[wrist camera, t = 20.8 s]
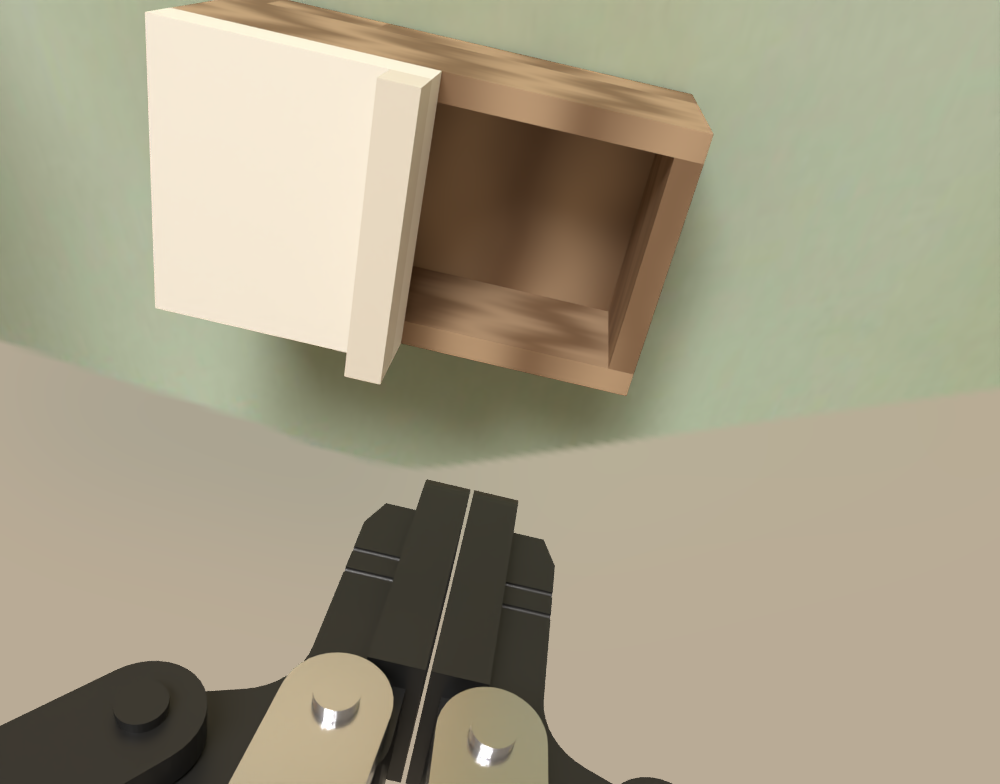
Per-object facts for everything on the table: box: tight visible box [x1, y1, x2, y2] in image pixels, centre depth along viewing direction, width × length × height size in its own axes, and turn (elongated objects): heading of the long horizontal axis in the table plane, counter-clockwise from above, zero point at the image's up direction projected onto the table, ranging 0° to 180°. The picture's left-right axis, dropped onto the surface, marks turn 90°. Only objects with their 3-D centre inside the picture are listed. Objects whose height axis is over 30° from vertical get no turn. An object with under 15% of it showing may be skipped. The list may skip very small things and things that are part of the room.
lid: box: [145, 8, 442, 385], centre depth 32 cm, size 11×12×4 cm
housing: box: [173, 0, 714, 396], centre depth 38 cm, size 22×12×9 cm, turn 78°
